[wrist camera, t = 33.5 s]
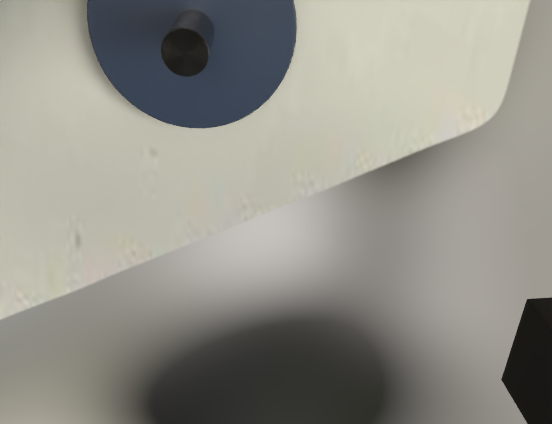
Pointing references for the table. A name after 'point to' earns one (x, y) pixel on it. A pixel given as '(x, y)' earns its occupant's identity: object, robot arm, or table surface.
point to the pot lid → (194, 55)
